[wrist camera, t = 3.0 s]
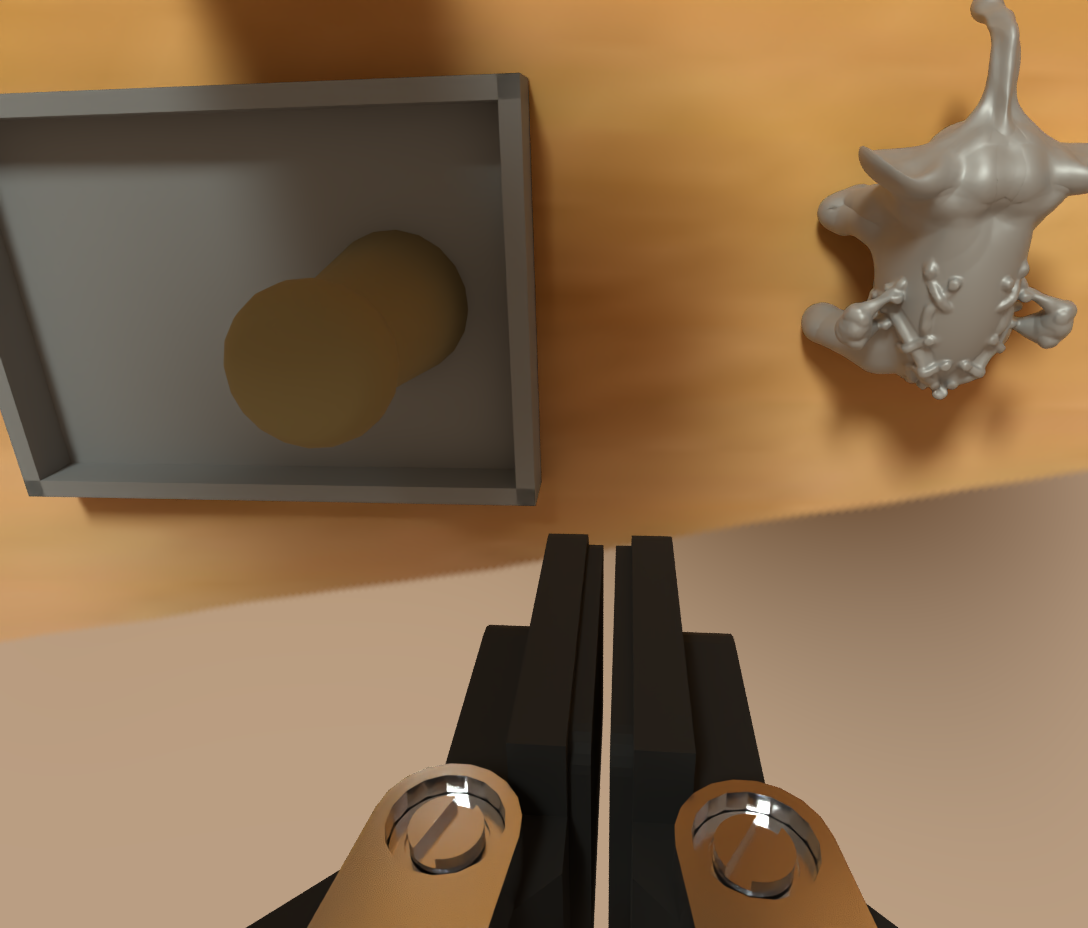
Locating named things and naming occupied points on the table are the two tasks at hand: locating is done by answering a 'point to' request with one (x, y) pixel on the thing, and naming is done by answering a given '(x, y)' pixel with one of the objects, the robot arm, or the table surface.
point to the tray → (258, 282)
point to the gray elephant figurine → (953, 236)
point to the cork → (344, 339)
